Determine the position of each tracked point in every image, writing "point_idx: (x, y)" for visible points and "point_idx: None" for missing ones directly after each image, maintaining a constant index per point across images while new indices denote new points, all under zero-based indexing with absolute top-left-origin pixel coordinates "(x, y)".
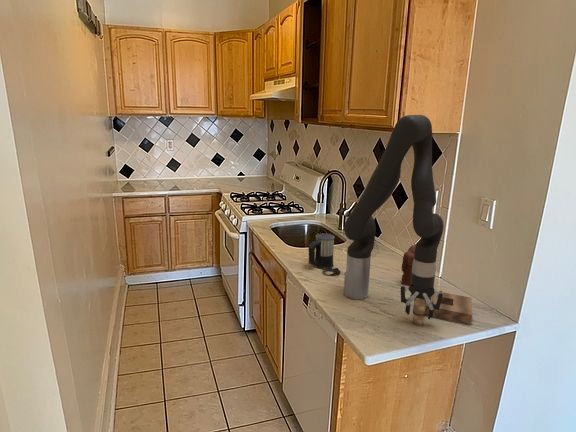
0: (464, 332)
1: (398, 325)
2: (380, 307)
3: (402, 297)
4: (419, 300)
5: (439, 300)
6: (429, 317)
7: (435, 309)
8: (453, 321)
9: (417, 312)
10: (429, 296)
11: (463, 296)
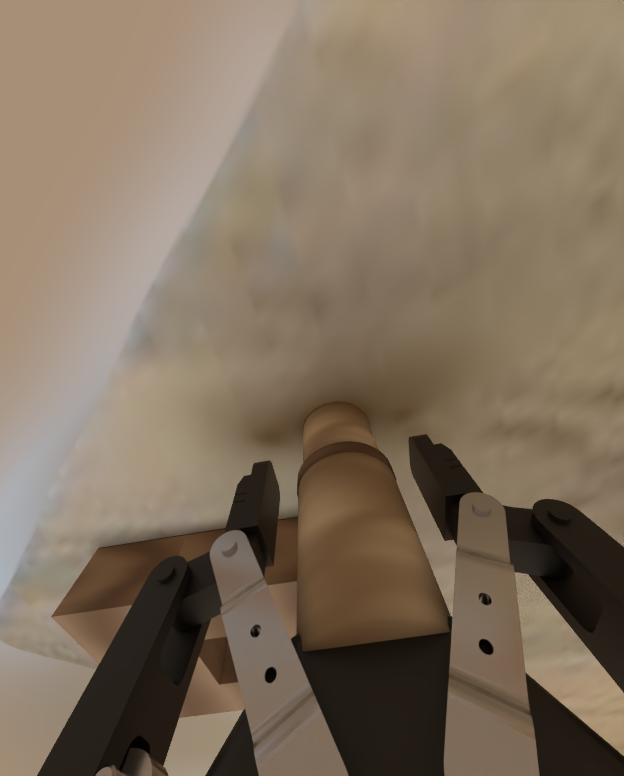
0: (80, 478)
1: (445, 328)
2: (579, 465)
3: (611, 562)
4: (373, 599)
5: (96, 712)
6: (256, 470)
7: (265, 573)
8: (176, 537)
9: (351, 460)
10: (238, 750)
11: (191, 714)
